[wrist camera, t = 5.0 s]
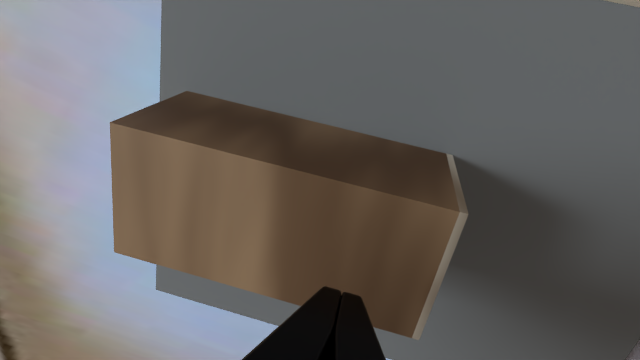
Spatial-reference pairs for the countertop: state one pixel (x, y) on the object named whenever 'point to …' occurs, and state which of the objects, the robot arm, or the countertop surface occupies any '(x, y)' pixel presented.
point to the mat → (459, 149)
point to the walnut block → (286, 206)
